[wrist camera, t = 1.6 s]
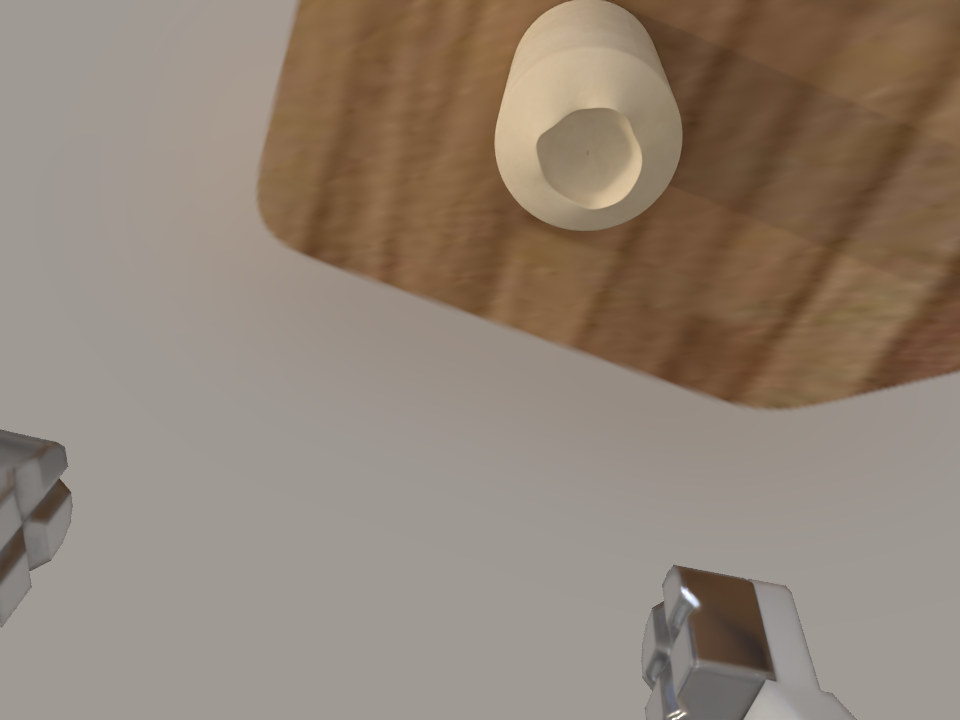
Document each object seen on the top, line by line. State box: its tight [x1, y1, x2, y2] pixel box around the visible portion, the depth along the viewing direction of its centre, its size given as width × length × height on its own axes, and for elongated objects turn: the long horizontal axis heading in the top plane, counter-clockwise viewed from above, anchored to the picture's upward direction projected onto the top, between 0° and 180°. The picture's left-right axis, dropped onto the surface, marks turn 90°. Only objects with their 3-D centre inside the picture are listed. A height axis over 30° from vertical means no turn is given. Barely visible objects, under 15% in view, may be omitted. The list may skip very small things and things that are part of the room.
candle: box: [495, 0, 683, 231], centre depth 28 cm, size 6×6×10 cm
